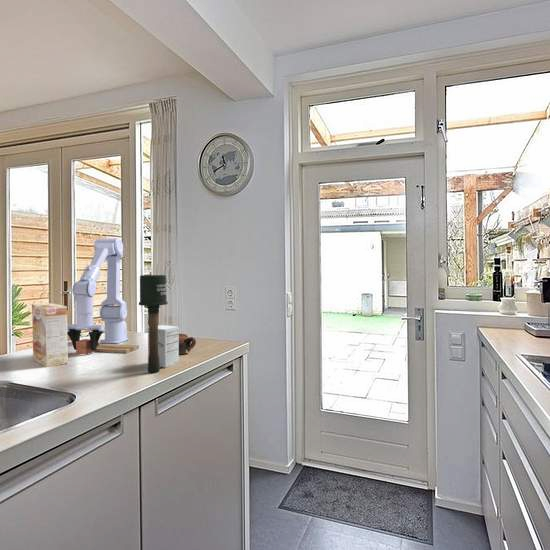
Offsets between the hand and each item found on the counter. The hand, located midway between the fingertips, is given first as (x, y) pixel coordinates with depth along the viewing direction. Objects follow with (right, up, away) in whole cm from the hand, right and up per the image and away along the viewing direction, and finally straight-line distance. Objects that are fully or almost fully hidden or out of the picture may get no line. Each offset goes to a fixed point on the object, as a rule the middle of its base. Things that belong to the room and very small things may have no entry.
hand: (85, 349), depth 154 cm
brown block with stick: (+1, -1, +3) cm, 3 cm away
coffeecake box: (-6, -2, -13) cm, 14 cm away
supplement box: (+34, -2, -16) cm, 38 cm away
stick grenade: (+33, -2, -26) cm, 42 cm away
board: (+7, -1, +6) cm, 10 cm away
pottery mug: (+35, -2, +2) cm, 35 cm away
